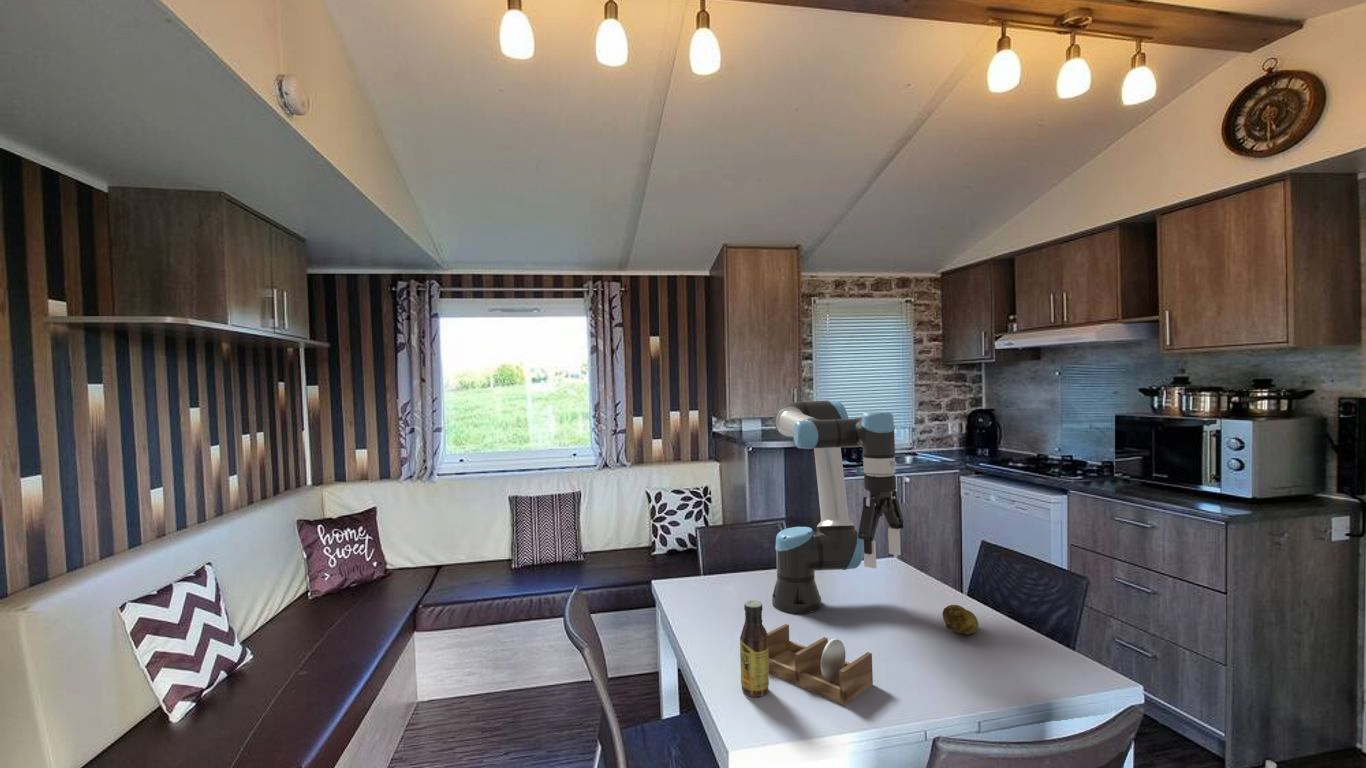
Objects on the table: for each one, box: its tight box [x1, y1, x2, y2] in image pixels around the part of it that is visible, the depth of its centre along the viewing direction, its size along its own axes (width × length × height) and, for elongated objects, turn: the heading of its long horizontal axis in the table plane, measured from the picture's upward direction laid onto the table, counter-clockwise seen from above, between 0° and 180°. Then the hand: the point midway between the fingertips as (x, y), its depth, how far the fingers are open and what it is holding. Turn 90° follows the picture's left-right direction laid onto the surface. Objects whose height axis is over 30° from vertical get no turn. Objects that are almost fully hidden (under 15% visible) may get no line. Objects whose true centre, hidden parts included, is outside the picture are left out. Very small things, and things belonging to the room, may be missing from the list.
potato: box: [942, 604, 979, 635], centre depth 153 cm, size 8×13×8 cm, turn 114°
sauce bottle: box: [739, 599, 770, 698], centre depth 126 cm, size 7×6×20 cm
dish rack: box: [767, 623, 874, 706], centre depth 132 cm, size 24×12×10 cm, turn 43°
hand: (882, 560), depth 139 cm, fingers open, 13 cm apart
